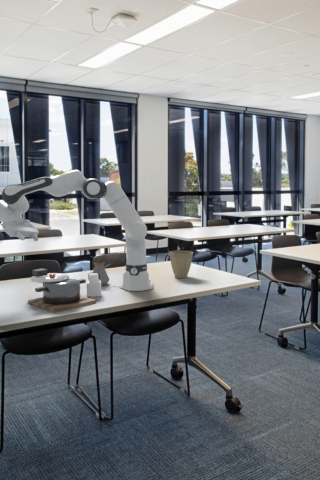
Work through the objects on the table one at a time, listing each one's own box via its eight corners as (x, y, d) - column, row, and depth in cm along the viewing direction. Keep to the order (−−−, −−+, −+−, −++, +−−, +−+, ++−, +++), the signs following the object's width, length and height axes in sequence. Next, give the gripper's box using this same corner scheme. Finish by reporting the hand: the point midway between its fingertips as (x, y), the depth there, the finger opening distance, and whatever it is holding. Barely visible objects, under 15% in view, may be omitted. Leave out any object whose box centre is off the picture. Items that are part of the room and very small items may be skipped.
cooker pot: (27, 302, 224) (26, 284, 223) (74, 292, 244) (73, 275, 243) (47, 309, 212) (46, 290, 211) (95, 297, 232) (95, 280, 231)
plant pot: (193, 279, 281) (193, 254, 279) (169, 279, 282) (169, 254, 280) (192, 274, 296) (192, 250, 294) (169, 274, 296) (169, 250, 294)
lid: (21, 278, 235) (20, 271, 235) (52, 272, 249) (52, 266, 248) (44, 284, 220) (43, 277, 220) (76, 278, 234) (76, 272, 233)
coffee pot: (94, 287, 261) (93, 261, 259) (86, 283, 271) (86, 258, 269) (127, 283, 272) (127, 258, 270) (119, 279, 282) (119, 255, 280)
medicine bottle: (88, 293, 247) (87, 271, 246) (101, 293, 248) (101, 271, 246) (87, 296, 240) (86, 274, 238) (100, 296, 241) (100, 274, 239)
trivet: (27, 303, 228) (27, 300, 228) (68, 294, 245) (68, 291, 245) (55, 312, 211) (54, 309, 211) (96, 302, 228) (96, 299, 228)
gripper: (2, 216, 224) (18, 233, 219) (30, 220, 242) (46, 235, 237) (-4, 227, 225) (12, 243, 220) (25, 229, 244) (40, 245, 238)
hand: (30, 239), depth 229 cm, fingers open, 8 cm apart
